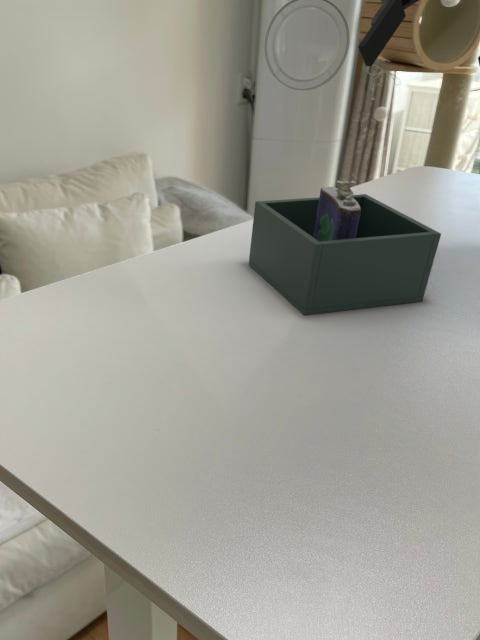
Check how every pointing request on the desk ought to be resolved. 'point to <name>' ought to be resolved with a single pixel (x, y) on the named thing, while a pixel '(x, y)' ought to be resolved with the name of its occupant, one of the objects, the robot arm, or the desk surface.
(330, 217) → the flask
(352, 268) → the bin
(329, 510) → the desk surface
